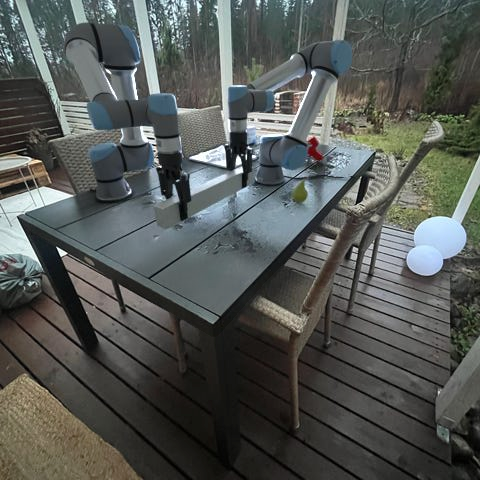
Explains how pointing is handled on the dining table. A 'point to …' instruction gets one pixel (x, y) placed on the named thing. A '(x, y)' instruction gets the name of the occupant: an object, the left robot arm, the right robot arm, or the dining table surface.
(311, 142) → the toy gun
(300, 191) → the fruit
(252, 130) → the ink box
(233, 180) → the bar
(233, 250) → the dining table surface
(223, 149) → the relief map
